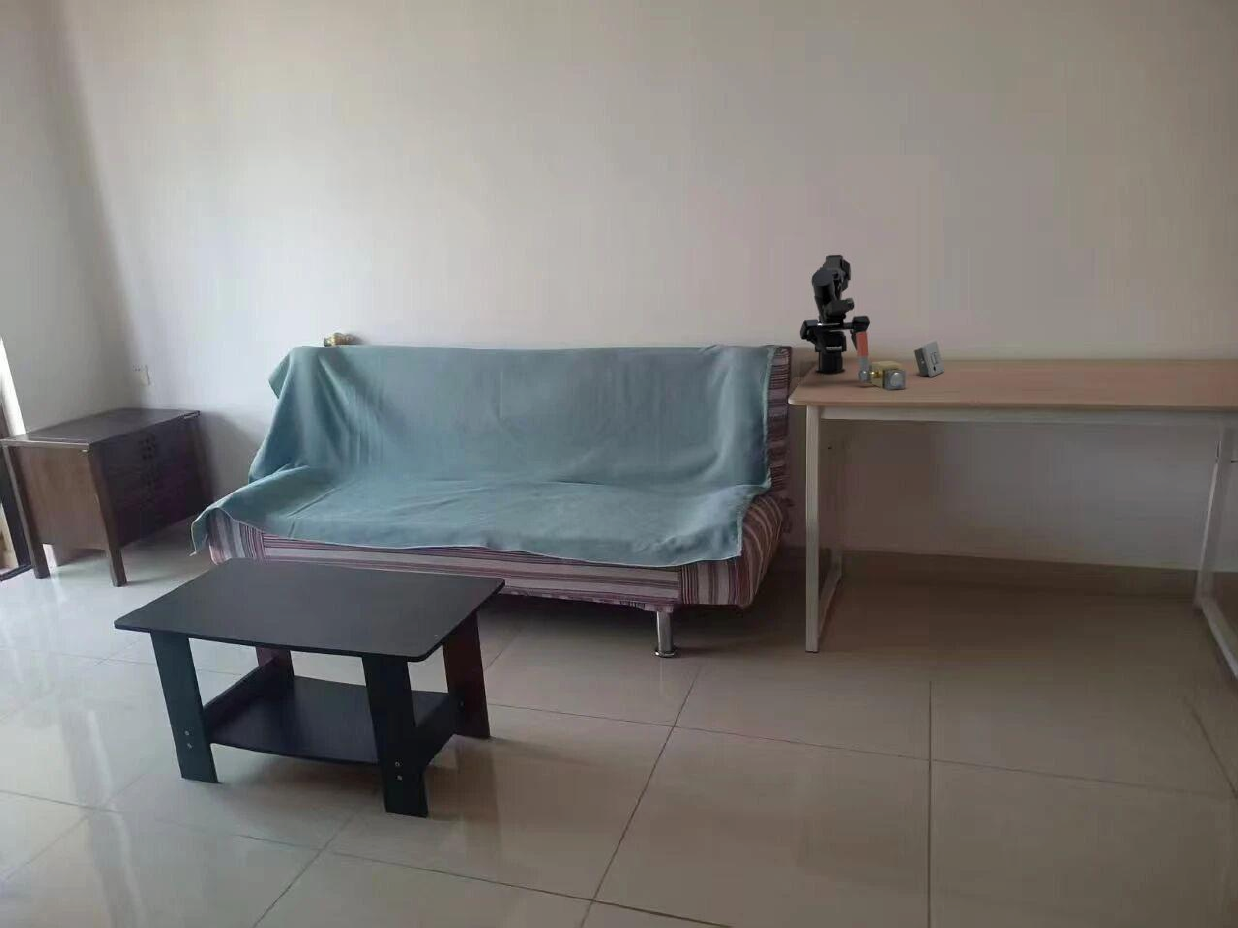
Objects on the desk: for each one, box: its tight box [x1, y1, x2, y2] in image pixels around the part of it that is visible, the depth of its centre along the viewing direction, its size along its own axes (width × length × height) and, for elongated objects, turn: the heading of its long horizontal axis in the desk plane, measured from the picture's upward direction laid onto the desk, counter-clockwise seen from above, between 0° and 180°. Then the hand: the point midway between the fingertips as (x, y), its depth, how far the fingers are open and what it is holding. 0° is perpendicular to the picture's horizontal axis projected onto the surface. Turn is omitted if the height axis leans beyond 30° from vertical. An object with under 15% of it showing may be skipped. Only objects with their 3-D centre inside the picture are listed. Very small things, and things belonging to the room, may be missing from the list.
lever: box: [856, 331, 870, 383], centre depth 261 cm, size 3×2×14 cm
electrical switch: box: [913, 340, 945, 378], centre depth 273 cm, size 9×5×9 cm, turn 141°
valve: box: [868, 360, 907, 391], centre depth 262 cm, size 15×8×6 cm, turn 8°
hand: (842, 351), depth 262 cm, fingers open, 9 cm apart
